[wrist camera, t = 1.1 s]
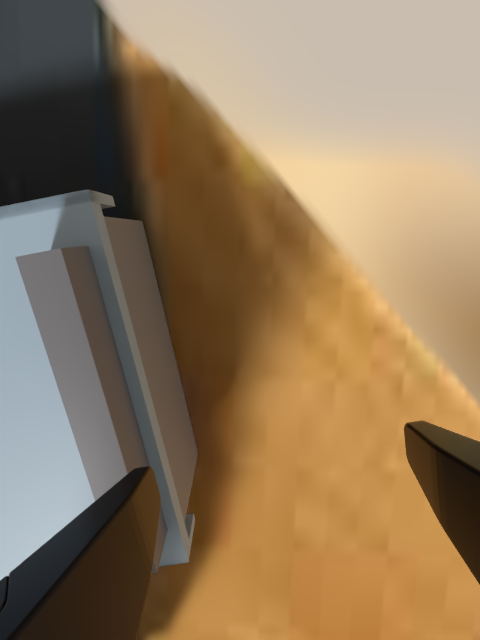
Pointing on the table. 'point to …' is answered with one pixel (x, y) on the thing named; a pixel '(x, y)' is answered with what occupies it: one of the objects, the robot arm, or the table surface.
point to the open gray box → (155, 350)
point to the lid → (71, 380)
